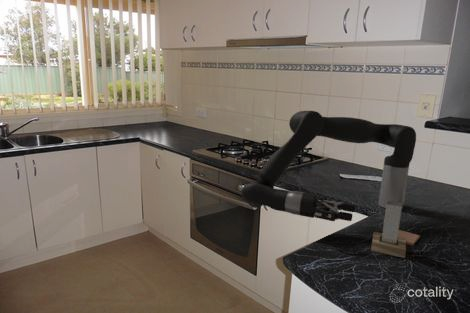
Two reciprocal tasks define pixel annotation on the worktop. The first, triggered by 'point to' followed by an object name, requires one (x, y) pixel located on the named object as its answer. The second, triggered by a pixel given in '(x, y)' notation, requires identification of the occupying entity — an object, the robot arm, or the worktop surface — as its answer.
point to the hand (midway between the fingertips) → (353, 213)
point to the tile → (408, 237)
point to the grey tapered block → (391, 222)
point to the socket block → (388, 246)
